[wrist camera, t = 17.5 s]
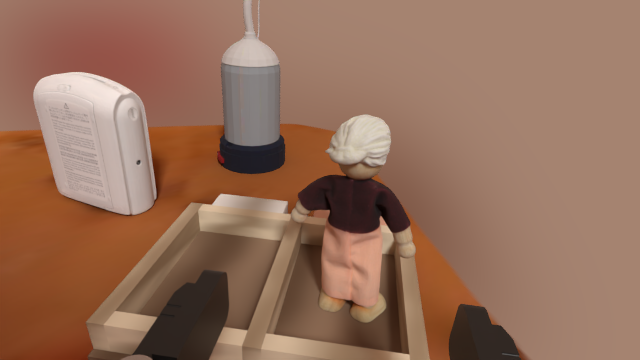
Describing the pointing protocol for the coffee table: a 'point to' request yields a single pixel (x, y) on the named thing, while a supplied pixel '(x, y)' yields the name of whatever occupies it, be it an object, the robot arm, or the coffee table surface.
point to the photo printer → (97, 141)
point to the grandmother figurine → (356, 218)
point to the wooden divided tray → (262, 289)
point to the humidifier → (251, 104)
